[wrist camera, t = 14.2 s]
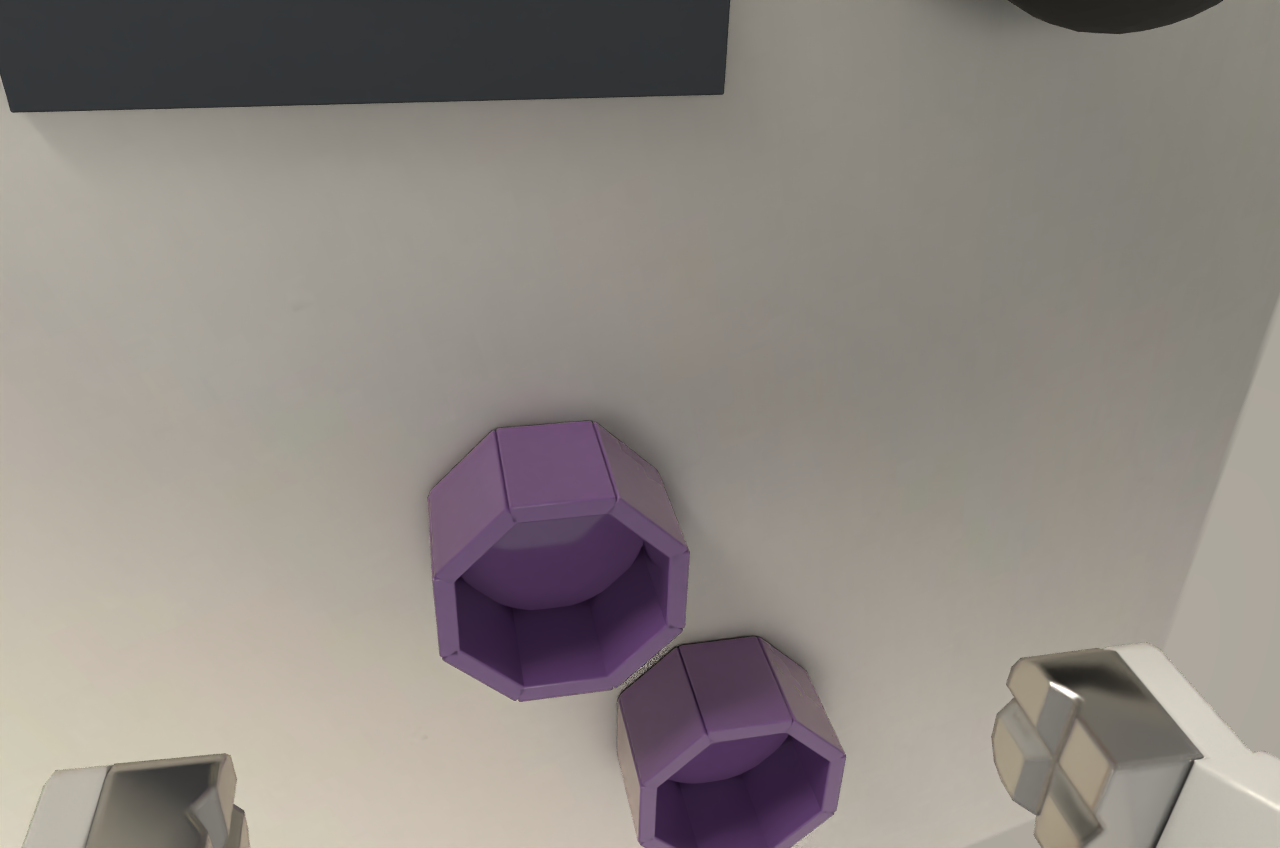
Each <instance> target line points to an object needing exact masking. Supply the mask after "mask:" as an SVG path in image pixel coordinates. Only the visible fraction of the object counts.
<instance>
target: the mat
mask: <svg viewBox="0 0 1280 848" xmlns="http://www.w3.org/2000/svg"><path fill="white" fill-rule="evenodd" d="M729 8H730V0H0V75H1V79H2V82H3V86H4V89H5V93H6V96H7V100H8V103H9V107H10V110H11V112H13V113H14V112H54V111H93V110H133V109H172V108H212V107H251V106H291V105H330V104H370V103H409V102H449V101H488V100H528V99H567V98H607V97H646V96H686V95H722V94H724V84H725V69H726V54H727V39H728V23H729Z"/></svg>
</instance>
